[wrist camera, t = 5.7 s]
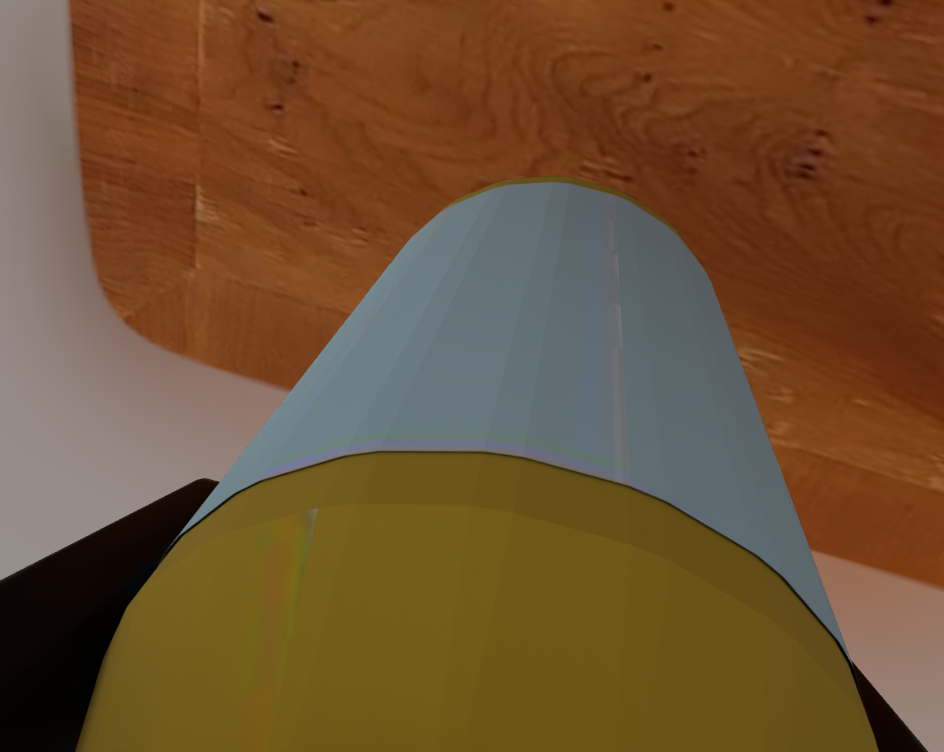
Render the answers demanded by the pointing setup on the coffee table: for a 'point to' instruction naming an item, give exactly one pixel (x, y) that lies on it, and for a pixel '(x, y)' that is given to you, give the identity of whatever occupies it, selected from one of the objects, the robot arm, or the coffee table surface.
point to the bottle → (499, 523)
